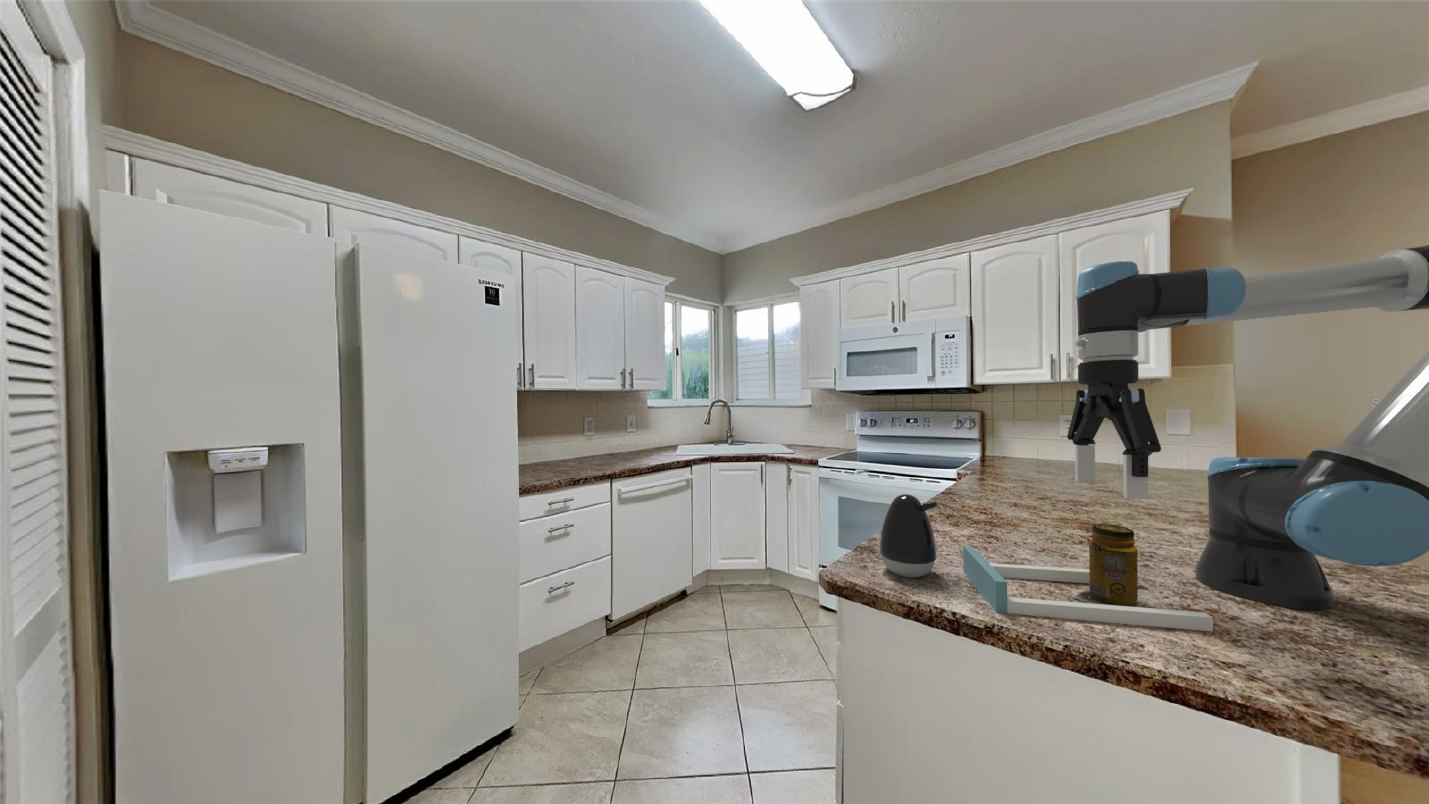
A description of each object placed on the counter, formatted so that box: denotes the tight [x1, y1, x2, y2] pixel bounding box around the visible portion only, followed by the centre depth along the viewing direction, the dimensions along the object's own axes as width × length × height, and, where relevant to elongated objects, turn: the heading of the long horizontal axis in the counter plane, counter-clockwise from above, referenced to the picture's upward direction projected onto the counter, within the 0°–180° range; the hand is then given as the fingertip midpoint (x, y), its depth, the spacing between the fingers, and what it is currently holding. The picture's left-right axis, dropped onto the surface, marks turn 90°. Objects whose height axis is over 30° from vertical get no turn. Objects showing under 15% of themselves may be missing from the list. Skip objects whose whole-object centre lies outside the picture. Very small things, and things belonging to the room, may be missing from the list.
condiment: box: [1073, 523, 1148, 608], centre depth 75 cm, size 7×8×12 cm
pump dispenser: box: [878, 493, 938, 579], centre depth 88 cm, size 10×10×15 cm
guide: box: [962, 545, 1214, 633], centre depth 76 cm, size 28×17×5 cm, turn 76°
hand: (1108, 489), depth 75 cm, fingers open, 13 cm apart
